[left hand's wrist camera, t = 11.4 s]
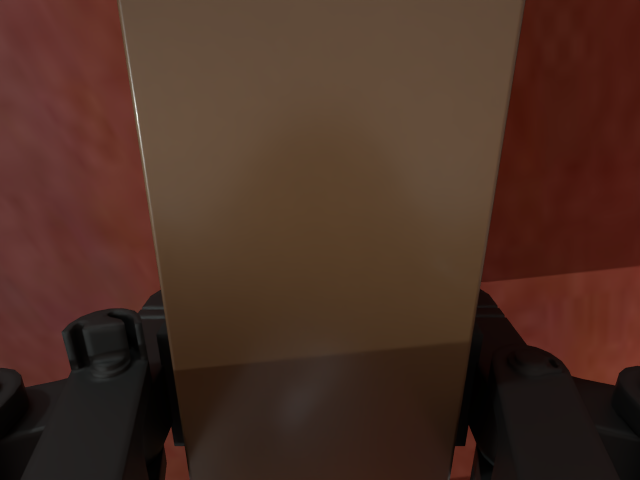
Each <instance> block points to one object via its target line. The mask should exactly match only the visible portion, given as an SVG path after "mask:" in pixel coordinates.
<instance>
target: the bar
mask: <svg viewBox="0 0 640 480" xmlns="http://www.w3.org/2000/svg"><path fill="white" fill-rule="evenodd" d="M117 4H118V10H119V17H120V23H121V30H122V37H123V43H124V50H125V56H126V63H127V69H128V76H129V83H130V89H131V96H132V102H133V109H134V115H135V122H136V129H137V135H138V142H139V148H140V155H141V161H142V168H143V175H144V181H145V188H146V194H147V201H148V208H149V214H150V221H151V227H152V234H153V240H154V247H155V254H156V260H157V267H158V273H159V280H160V286H161V293H162V300H163V306H164V313H165V319H166V326H167V332H168V339H169V346H170V352H171V359H172V365H173V372H174V379H175V385H176V392H177V398H178V405H179V411H180V418H181V425H182V431H183V438H184V444H185V451H186V457H187V464H188V471H189V477H190V480H450V474H451V468H452V462H453V455H454V449H455V443H456V436H457V430H458V424H459V417H460V411H461V405H462V398H463V392H464V386H465V379H466V373H467V367H468V360H469V354H470V348H471V341H472V335H473V329H474V322H475V316H476V310H477V303H478V297H479V291H480V284H481V278H482V272H483V266H484V259H485V253H486V247H487V240H488V234H489V228H490V221H491V215H492V209H493V202H494V196H495V190H496V183H497V177H498V171H499V164H500V158H501V152H502V145H503V139H504V133H505V126H506V120H507V114H508V107H509V101H510V95H511V88H512V82H513V76H514V70H515V63H516V57H517V51H518V44H519V38H520V32H521V25H522V19H523V13H524V6H525V0H117Z"/></svg>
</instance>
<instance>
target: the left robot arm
mask: <svg viewBox="0 0 640 480" xmlns="http://www.w3.org/2000/svg"><path fill="white" fill-rule="evenodd" d="M62 336H63V339H64V343H65V347H66V351H67V355H68V358H69V362H70V366H71V370H72V371H71V373H70V375H69V377H68V378H67V379H63V380H59V381H55V382H50V383H45V384H40V385H35V386H30V387H25V386H24V383H23V380H22V377H21V375H20V374H19V373H18V372H17V371H15V370H12V369H6V368H0V480H165V473H166V465H167V462H166V455H165V449H164V442H165V440H166V438H167V435H168V433H169V430H170V428H171V427H172V433H173V439H174V445H175V446H185V444H184V438H183V431H182V425H181V418H180V411H179V405H178V398H177V392H176V385H175V379H174V372H173V365H172V359H171V352H170V346H169V339H168V332H167V326H166V319H165V313H164V306H163V300H162V293H161V290H160V291H158V292H156V293H155V294H153V295H152V296H150V298H149V299H148V300H147V302H146V303H145V305H144V306H143V307H142V310H140V311H139V313H136V312H135V311H133V310H128V309H124V308H119V309H106V310H101V311H96V312H93V313H90V314H87V315H85V316H82V317H80V318H78V319H77V320H75V321H73V322H72V323H70V324H69V325H68V326H67V327H66V328H65V329H64V330H63V331H62ZM468 425H469V427H470V429H471V431H472V434H473V436H474V439H475V441H476V449H475V455H474V460H473V466H472V471H471V477H470V480H640V366H634V367H628V368H625V369H624V370H622V371H621V372H620V373H619V376H618V379H617V382H616V385H610V384H605V383H600V382H595V381H590V380H585V379H580V378H577V377H573V376H571V374H570V372H569V370H568V369H567V367H566V366H565V365H564V364H563V362H562V361H561V360H559V359H558V358H556V357H555V356H554V355H552V354H551V353H549V352H546V351H544V350H542V349H539V348H537V347H533V346H528V345H527V344H526V343H525V342H524V340H523V339H522V338H521V336H520V335H519V334H518V332H517V331H516V330H515V328H514V327H513V326H512V324H511V323H510V322H509V320H508V319H507V318H505V317H504V314H503V313H502V311H501V310H500V309H499V308H498V307H497V305H496V303H495V302H494V301H493V299H492V298H491V297H490V295H489V294H487V293H486V292H484V291H482V290H481V289H480V291H479V297H478V303H477V310H476V316H475V322H474V329H473V335H472V341H471V348H470V354H469V360H468V367H467V373H466V379H465V386H464V392H463V398H462V405H461V411H460V417H459V424H458V430H457V436H456V443H455V446H465V443H466V437H467V431H468Z"/></svg>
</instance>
